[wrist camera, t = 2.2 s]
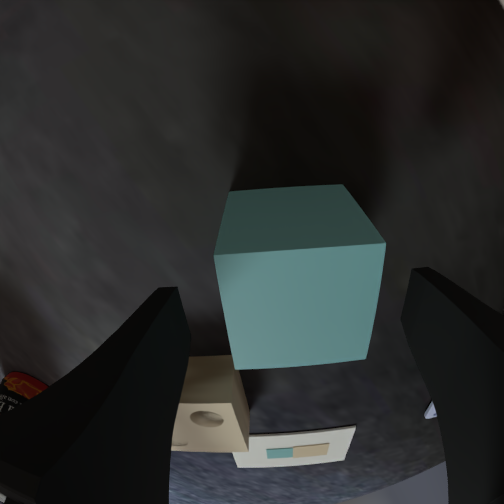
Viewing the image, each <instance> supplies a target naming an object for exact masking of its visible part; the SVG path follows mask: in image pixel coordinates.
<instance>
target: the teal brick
mask: <svg viewBox="0 0 504 504" xmlns="http://www.w3.org/2000/svg"><path fill="white" fill-rule="evenodd" d="M385 248H386V242H385V241H384V239H383V238H382V237H381V235H380V234H379V232H378V231H377V230H376V228H375V227H374V225H373V224H372V223H371V221H370V220H369V218H368V217H367V216H366V214H365V213H364V212H363V210H362V209H361V208H360V206H359V205H358V204H357V202H356V201H355V200H354V198H353V197H352V196H351V194H350V193H349V192H348V190H347V189H346V188H345V187H344V185H343V184H338V185H316V186H298V187H282V188H268V189H254V190H242V191H231V192H229V194H228V198H227V202H226V206H225V210H224V214H223V218H222V222H221V226H220V230H219V234H218V238H217V243H216V247H215V251H214V261H215V267H216V273H217V278H218V284H219V289H220V295H221V300H222V306H223V311H224V316H225V322H226V327H227V332H228V337H229V342H230V347H231V352H232V357H233V362H234V367H235V370H242V369H265V368H281V367H295V366H307V365H318V364H328V363H337V362H345V361H353V360H361V359H366V356H367V352H368V347H369V342H370V338H371V333H372V328H373V323H374V318H375V312H376V307H377V301H378V296H379V290H380V283H381V277H382V270H383V263H384V255H385Z"/></svg>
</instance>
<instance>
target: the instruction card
mask: <svg viewBox="0 0 504 504" xmlns="http://www.w3.org/2000/svg"><path fill="white" fill-rule="evenodd" d="M355 429H356V425H354V426H348V427H341V428H333V429H325V430H316V431H306V432H294V433H279V434H258V435H249V452H232V453H233V456H234V458H235V461H236V464H237V466H238V468H257V467H281V466H296V465H307V464H317V463H326V462H334V461H341V460H344V458H345V456H346V453H347V451H348V448H349V445H350V443H351V440H352V437H353V435H354V432H355Z"/></svg>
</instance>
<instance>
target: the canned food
mask: <svg viewBox="0 0 504 504" xmlns="http://www.w3.org/2000/svg"><path fill="white" fill-rule="evenodd" d="M46 388H48V386H47V385H45V384H44V383H42V382H41V381H39V380H37V379H35V378H33V377H32V376H29V375H27V374H24V373H20V372H11V373H9V374H8V375H7V376H6V377H4V378H3V379H2V381H1V383H0V414H2V413H5V412H7V411H9V410H11V409H13V408H15V407H16V406H18V405H20V404H22V403H24V402H26V401H27V400H29V399H31V398H32V397H34V396H36V395H37V394H39V393H41V392H42V391H43V390H45V389H46ZM0 498H2V499H3V500H5V499H6V496H5V495H3V494H1V493H0Z"/></svg>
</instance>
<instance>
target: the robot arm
mask: <svg viewBox="0 0 504 504" xmlns="http://www.w3.org/2000/svg"><path fill="white" fill-rule="evenodd" d="M401 322H402V325H403V328H404V332H405V335H406V338H407V342H408V345H409V347H410V349H411V352H412V354H413V356H414V359H415V361H416V363H417V366H418V368H419V370H420V372H421V375H422V377H423V379H424V382H425V384H426V387H427V389H428V391H429V394H430V396H431V399H432V402H431V403H430V405H429V407H428V409H427V410H426V412H425V414H424V415H425V418H427V419H429V418H432V417H436V416H437V418H438V422H439V427H440V431H441V436H442V441H443V446H444V452H445V458H446V466H447V476H448V496H449V504H504V316H503V315H501V314H500V313H498V312H497V311H495V310H493V309H492V308H490V307H489V306H487V305H486V304H484V303H483V302H481V301H480V300H478V299H477V298H475V297H474V296H473V295H471V294H470V293H468V292H467V291H465V290H464V289H462V288H461V287H459V286H458V285H456V284H455V283H453V282H452V281H451V280H449V279H448V278H446V277H444V276H443V275H441V274H440V273H438V272H436V271H435V270H433V269H431V268H429V267H423V268H414V269H412V270H411V275H410V280H409V285H408V289H407V294H406V298H405V303H404V307H403V311H402V315H401ZM190 342H191V334H190V330H189V327H188V324H187V320H186V317H185V313H184V309H183V306H182V302H181V299H180V295H179V291H178V287H161V288H158V289H157V290H155V291H154V292H153V293H152V294H151V295H150V296H149V297H148V298H147V300H146V301H145V302H144V303H143V304H142V305H141V306H140V307H139V308H138V309H137V310H136V311H135V312H134V313H133V314H132V315H131V316H130V317H129V318H128V319H127V320H126V321H125V322H124V323H123V324H122V325H121V327H120V328H119V329H118V330H117V331H116V332H114V333H113V334H112V335H111V336H110V337H109V338H108V339H107V340H106V341H105V342H104V343H103V344H102V345H101V346H100V347H99V348H98V349H97V350H96V351H94V352H93V353H92V354H91V355H90V356H89V357H88V358H86V359H85V360H84V361H83V362H82V363H80V364H79V365H78V366H77V367H75V368H74V369H73V370H72V371H70V372H69V373H68V374H67V375H65V376H64V377H62V378H61V379H60V380H58V381H57V382H55V383H54V384H52V385H51V386H49V387H48V388H46V389H45V390H43V391H42V392H41V393H39V394H37V395H36V396H34V397H32V398H31V399H29V400H27V401H26V402H24V403H22V404H20V405H18V406H16V407H15V408H13V409H11V410H9V411H7V412H5V413H2V414H0V493H1V494H3V495H5V496H6V499H5V502H4V503H3V502H1V501H0V504H169V474H170V458H171V446H172V436H173V430H174V424H175V419H176V415H177V411H178V406H179V402H180V397H181V393H182V389H183V385H184V380H185V376H186V372H187V367H188V361H189V353H190Z"/></svg>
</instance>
